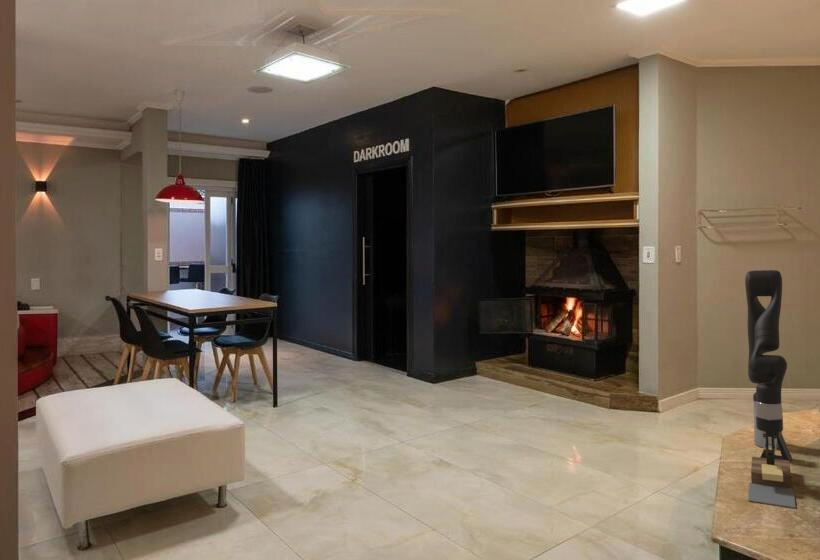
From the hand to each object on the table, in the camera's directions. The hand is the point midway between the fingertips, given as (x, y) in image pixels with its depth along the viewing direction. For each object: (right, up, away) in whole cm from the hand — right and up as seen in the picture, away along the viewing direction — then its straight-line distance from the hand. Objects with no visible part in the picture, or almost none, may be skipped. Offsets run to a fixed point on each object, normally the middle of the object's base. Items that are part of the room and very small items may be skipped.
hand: (770, 467), depth 192 cm
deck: (+2, -5, +3) cm, 6 cm away
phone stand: (+15, -4, +21) cm, 25 cm away
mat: (-6, -5, -10) cm, 13 cm away
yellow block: (-3, -1, -5) cm, 6 cm away
